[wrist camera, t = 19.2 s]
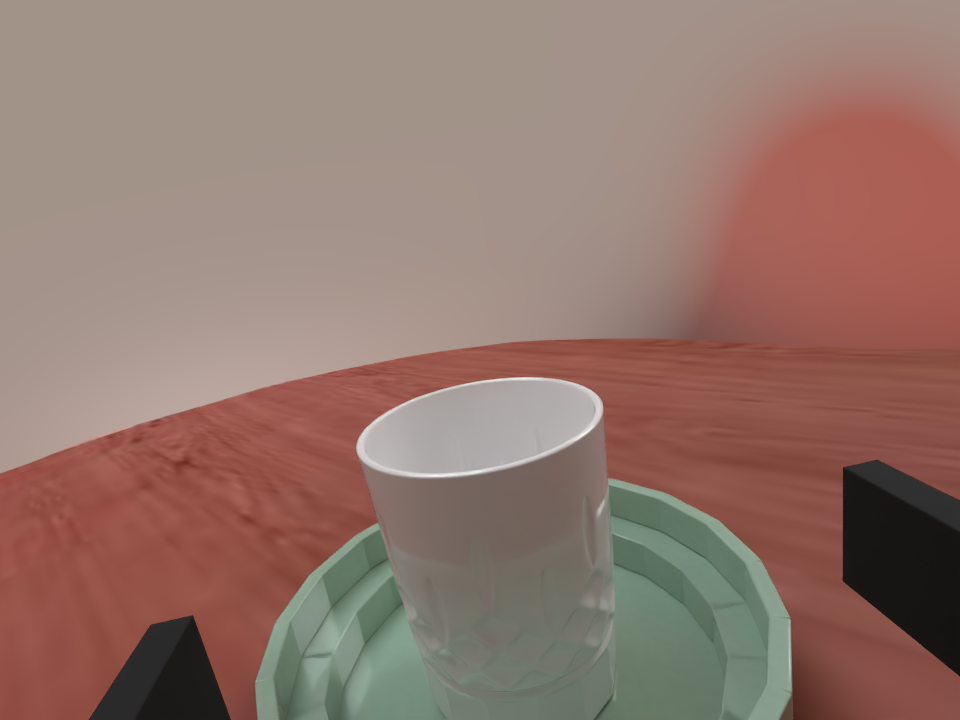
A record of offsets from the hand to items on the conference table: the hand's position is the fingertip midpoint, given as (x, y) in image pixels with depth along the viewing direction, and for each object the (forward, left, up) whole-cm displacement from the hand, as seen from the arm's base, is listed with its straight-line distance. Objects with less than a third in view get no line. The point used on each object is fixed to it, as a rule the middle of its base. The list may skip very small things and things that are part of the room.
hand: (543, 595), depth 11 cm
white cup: (0, -7, -9) cm, 11 cm away
